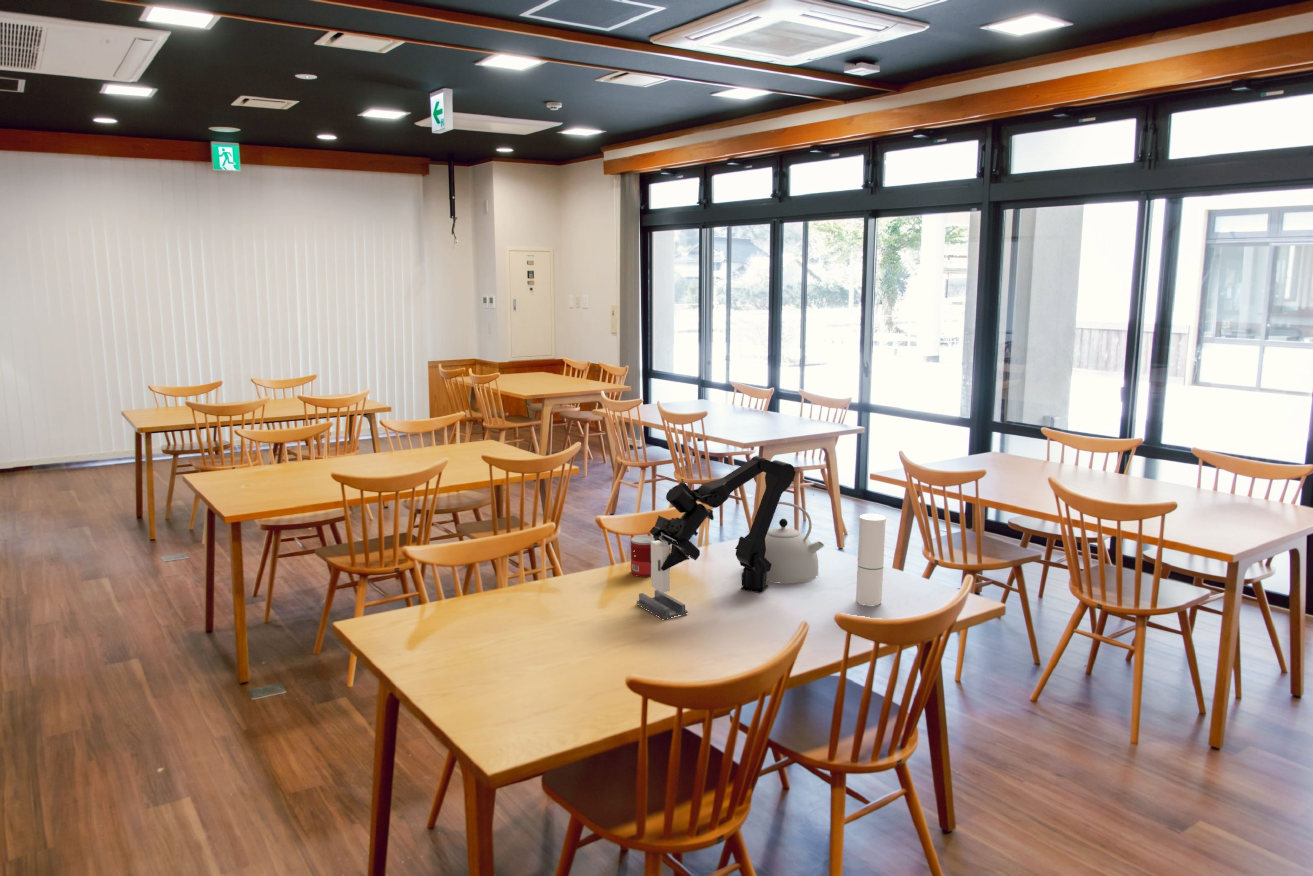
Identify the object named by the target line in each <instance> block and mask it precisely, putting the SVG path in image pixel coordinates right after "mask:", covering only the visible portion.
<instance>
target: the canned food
mask: <svg viewBox="0 0 1313 876" xmlns="http://www.w3.org/2000/svg"><path fill="white" fill-rule="evenodd" d="M652 541H655V540H654V538H653V536H650V535H636V536H634V537H631V538H630V572H631V574H632V575H633V574H634V575H633V576H635V575H637V576H636V577H640V576H647V577H651V564H650V563H649V561H650V558H651V542H652ZM634 550H635V552H633V551H634ZM634 555H636V557H634Z"/></svg>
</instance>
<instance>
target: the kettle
mask: <svg viewBox="0 0 1313 876" xmlns="http://www.w3.org/2000/svg"><path fill="white" fill-rule="evenodd" d="M778 505H784V506H790V507H793V508H795V509H798V510H800V511H801V512H802V513H803V514H804V515H805V516H806V517H807V521H808V529H807V532H806V534H805V535H804V534H803V533H801V532H800V531H799V530H797V529H796V528H792V527H787V526H788V525H789V524H788V520H787V519H786V518H781V519H779V522H778V524H779V526H780V527H772V528H769V530H768V532H767V535H766V538H765V544H766V553H765V558H766V559H767V560H768V561H769V562H770V563H771V564H772V565H771V569H770V571H768V572H767V578H766V582H767V581H770V582H769V583H774V582H780V583H779V584H798V583H806V582H809V581H812V580H814V579H816V578H817V577H818V576H819V574H818V573H819V558H818V554H817V552H818V551H819V550H821V549H823V547H825V544H824V543H823V542H821V541H816V542H813V543H812V542H811V540H810V539H809V536H810V534H811V531H812V519H811V516H810V515H809V513H808V512H807V510H805V509H804V508H803V507H801V506H799V505H797V504H794V503H791V502H786V501H779V502H778ZM817 575H818V576H817ZM816 576H817V577H816Z"/></svg>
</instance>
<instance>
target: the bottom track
mask: <svg viewBox="0 0 1313 876" xmlns="http://www.w3.org/2000/svg"><path fill="white" fill-rule="evenodd" d="M637 604H639V605H640V606H642V607H643V608H645V609H647V610H649V611H650V612H652V613H653V614H655V615H657V616H659V617H660V618H661V619H660V618H659V619H660V620H662V619H667V618H671V617H674V616H678V615H683V614H686V613H689V611H688V610H687V609H686V604H685V603H683V602H681V601H679V600H678V599H675V598H674V597H673V596H670V595H668V594H666V592H663V593H662V592H660V591H658V590H657V589H655V590H654V596H653V597H651V596H648V595H647V594H645V593H644V592H643V593H642V592H641V593H638V600H636V605H637ZM640 606H639V607H640ZM642 607H641V608H642ZM643 608H642V609H643ZM645 609H644V610H645ZM647 610H646V611H647ZM650 612H649V613H650ZM652 613H651V614H652ZM653 614H652V615H653ZM655 615H654V616H655ZM657 616H656V617H657ZM671 619H672V618H671ZM667 620H668V619H667Z"/></svg>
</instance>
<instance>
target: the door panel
mask: <svg viewBox="0 0 1313 876" xmlns="http://www.w3.org/2000/svg"><path fill="white" fill-rule="evenodd" d="M670 549H671V547H670V545H667V544H665V543H663V542H661V541H659V540H657V541H652V542H651V576H650V587H651V588H653V589H655V590H658V591H660V592H662V593H667V592H670V590H671V586H670V583H671V581H670V579H671V578H670V577H671V576H670V574H671V573H670V572H671V571H670V570H671V569H670V568H671V567H670V568H668V569H666V570H665V571H663V570H661V567H662V565H663V563H664V562H665V560H666V559H667V557H668V556H669V554H670V553H671V550H670Z"/></svg>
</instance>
